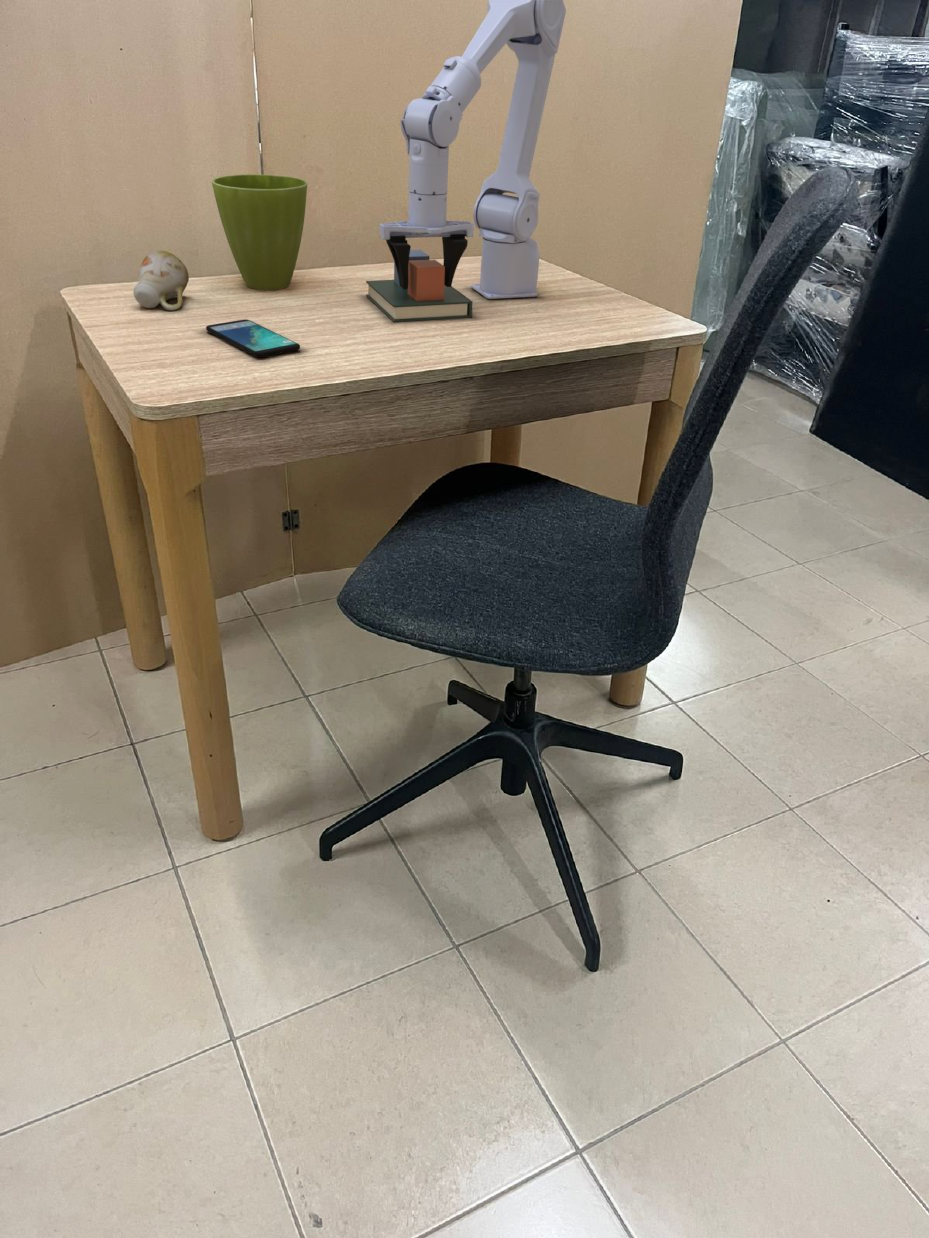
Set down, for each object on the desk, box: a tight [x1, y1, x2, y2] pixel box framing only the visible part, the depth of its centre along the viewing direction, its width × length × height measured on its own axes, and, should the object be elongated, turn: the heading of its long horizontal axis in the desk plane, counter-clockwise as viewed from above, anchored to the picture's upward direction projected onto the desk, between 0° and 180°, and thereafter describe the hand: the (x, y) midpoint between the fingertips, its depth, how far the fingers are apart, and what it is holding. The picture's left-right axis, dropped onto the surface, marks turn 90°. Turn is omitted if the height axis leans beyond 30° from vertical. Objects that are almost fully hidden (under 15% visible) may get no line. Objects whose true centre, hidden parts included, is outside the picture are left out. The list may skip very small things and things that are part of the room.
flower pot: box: [211, 173, 308, 291], centre depth 149 cm, size 15×15×16 cm
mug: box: [132, 250, 190, 311], centre depth 140 cm, size 8×10×10 cm
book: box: [365, 279, 474, 323], centre depth 146 cm, size 13×15×2 cm
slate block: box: [393, 249, 430, 289], centre depth 147 cm, size 4×4×5 cm
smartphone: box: [205, 318, 301, 358], centre depth 127 cm, size 7×1×15 cm
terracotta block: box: [408, 259, 445, 301], centre depth 141 cm, size 4×4×5 cm
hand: (425, 286), depth 142 cm, fingers open, 7 cm apart
